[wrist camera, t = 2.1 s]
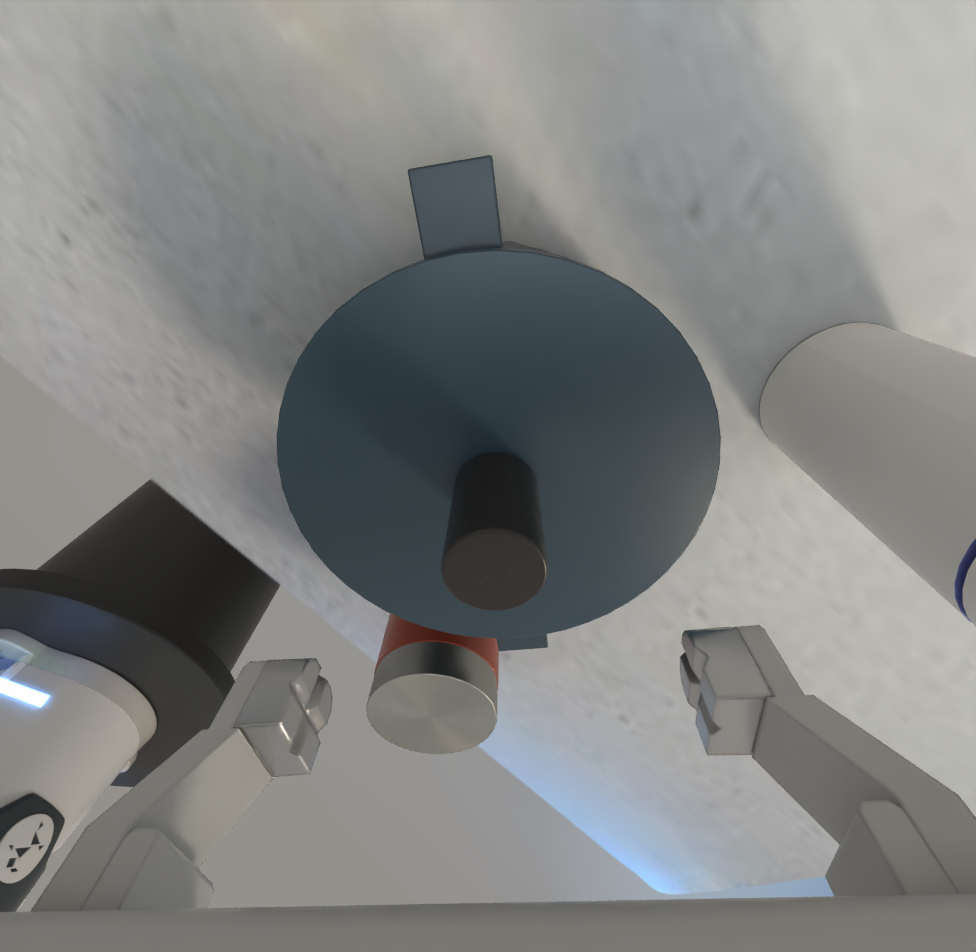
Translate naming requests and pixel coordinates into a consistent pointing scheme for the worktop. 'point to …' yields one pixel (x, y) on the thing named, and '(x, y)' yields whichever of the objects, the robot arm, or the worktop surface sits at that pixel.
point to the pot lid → (498, 443)
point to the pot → (463, 240)
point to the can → (433, 689)
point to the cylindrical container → (887, 442)
